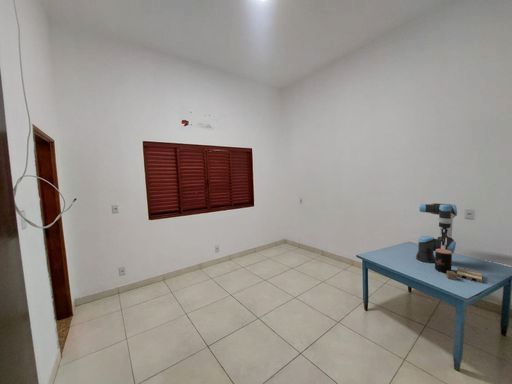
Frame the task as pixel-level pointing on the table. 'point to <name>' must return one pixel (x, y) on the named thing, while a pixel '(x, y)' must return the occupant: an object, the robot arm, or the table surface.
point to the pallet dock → (469, 274)
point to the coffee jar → (443, 260)
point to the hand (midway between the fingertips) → (443, 246)
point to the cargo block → (451, 275)
